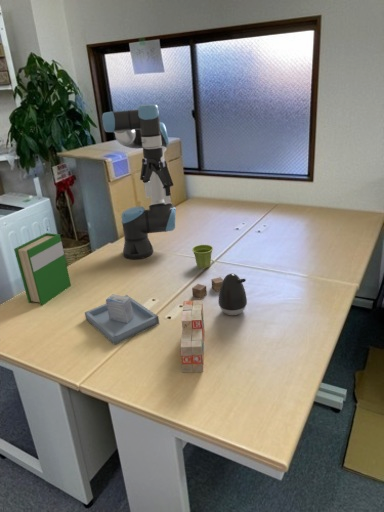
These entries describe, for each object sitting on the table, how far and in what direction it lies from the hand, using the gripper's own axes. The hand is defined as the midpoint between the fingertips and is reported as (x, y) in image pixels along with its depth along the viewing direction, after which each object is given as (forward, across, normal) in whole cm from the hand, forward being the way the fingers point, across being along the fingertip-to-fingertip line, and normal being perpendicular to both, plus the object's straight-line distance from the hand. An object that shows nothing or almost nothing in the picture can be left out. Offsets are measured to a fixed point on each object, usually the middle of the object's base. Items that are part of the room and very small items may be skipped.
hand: (158, 200), depth 164 cm
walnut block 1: (+35, +24, -1) cm, 42 cm away
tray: (+34, +18, -33) cm, 51 cm away
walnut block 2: (+35, +25, +8) cm, 43 cm away
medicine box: (+34, +18, -33) cm, 50 cm away
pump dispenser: (+35, +42, 0) cm, 54 cm away
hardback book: (+35, -23, -44) cm, 61 cm away
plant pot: (+35, +4, +18) cm, 40 cm away
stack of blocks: (+35, +50, -24) cm, 65 cm away
